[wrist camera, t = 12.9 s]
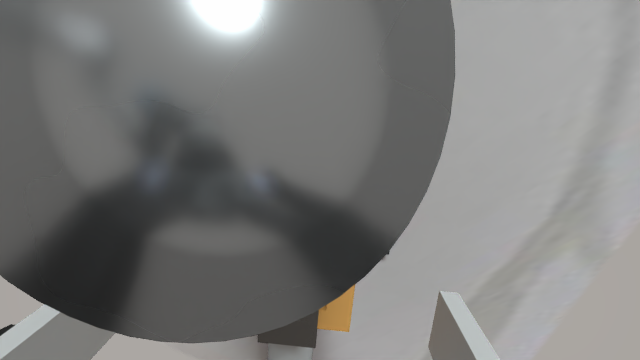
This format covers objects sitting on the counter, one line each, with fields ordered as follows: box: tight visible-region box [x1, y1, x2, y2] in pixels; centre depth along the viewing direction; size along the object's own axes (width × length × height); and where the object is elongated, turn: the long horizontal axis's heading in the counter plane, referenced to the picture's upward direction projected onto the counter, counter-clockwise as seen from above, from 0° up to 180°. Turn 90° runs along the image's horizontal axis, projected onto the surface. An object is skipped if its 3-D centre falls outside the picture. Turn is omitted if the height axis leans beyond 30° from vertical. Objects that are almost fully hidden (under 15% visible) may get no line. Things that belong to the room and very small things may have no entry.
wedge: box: [258, 310, 319, 348], centre depth 22 cm, size 3×8×14 cm, turn 175°
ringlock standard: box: [0, 0, 455, 343], centre depth 17 cm, size 16×19×27 cm
